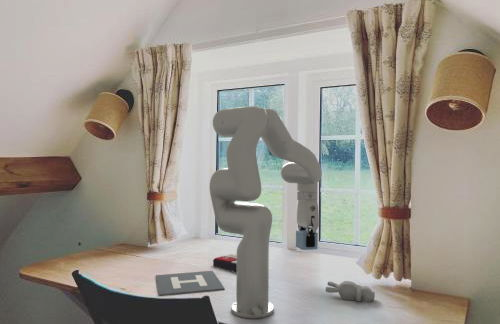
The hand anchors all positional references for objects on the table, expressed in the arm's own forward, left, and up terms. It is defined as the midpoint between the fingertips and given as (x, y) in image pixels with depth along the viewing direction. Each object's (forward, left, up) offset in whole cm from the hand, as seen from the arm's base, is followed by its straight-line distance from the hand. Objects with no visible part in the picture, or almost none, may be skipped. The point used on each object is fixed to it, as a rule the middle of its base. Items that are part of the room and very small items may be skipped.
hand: (306, 244), depth 140 cm
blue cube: (0, 0, -1) cm, 1 cm away
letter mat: (+9, +42, -13) cm, 46 cm away
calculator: (+26, +21, -14) cm, 36 cm away
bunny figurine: (-21, -6, -14) cm, 26 cm away
